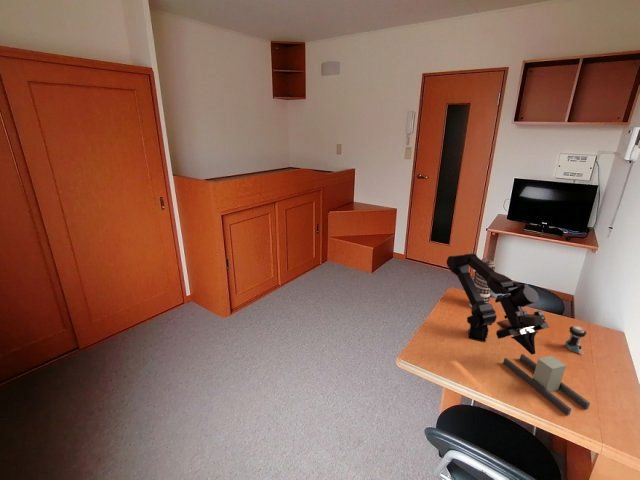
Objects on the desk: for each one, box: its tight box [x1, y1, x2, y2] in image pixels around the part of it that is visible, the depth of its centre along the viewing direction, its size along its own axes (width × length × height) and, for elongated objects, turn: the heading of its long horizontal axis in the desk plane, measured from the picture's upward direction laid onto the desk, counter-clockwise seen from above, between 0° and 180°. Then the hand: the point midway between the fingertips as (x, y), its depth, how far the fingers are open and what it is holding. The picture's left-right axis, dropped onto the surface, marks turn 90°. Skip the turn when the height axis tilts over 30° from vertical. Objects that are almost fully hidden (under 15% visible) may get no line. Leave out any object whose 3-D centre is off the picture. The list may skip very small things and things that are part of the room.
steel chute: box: [502, 353, 591, 417], centre depth 110 cm, size 24×10×4 cm, turn 18°
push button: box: [564, 325, 587, 355], centre depth 128 cm, size 7×5×10 cm
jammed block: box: [532, 355, 567, 393], centre depth 107 cm, size 5×6×10 cm
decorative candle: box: [468, 258, 498, 309], centre depth 157 cm, size 9×9×25 cm
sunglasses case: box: [496, 319, 525, 329], centre depth 145 cm, size 18×7×7 cm
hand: (533, 354), depth 112 cm, fingers closed
